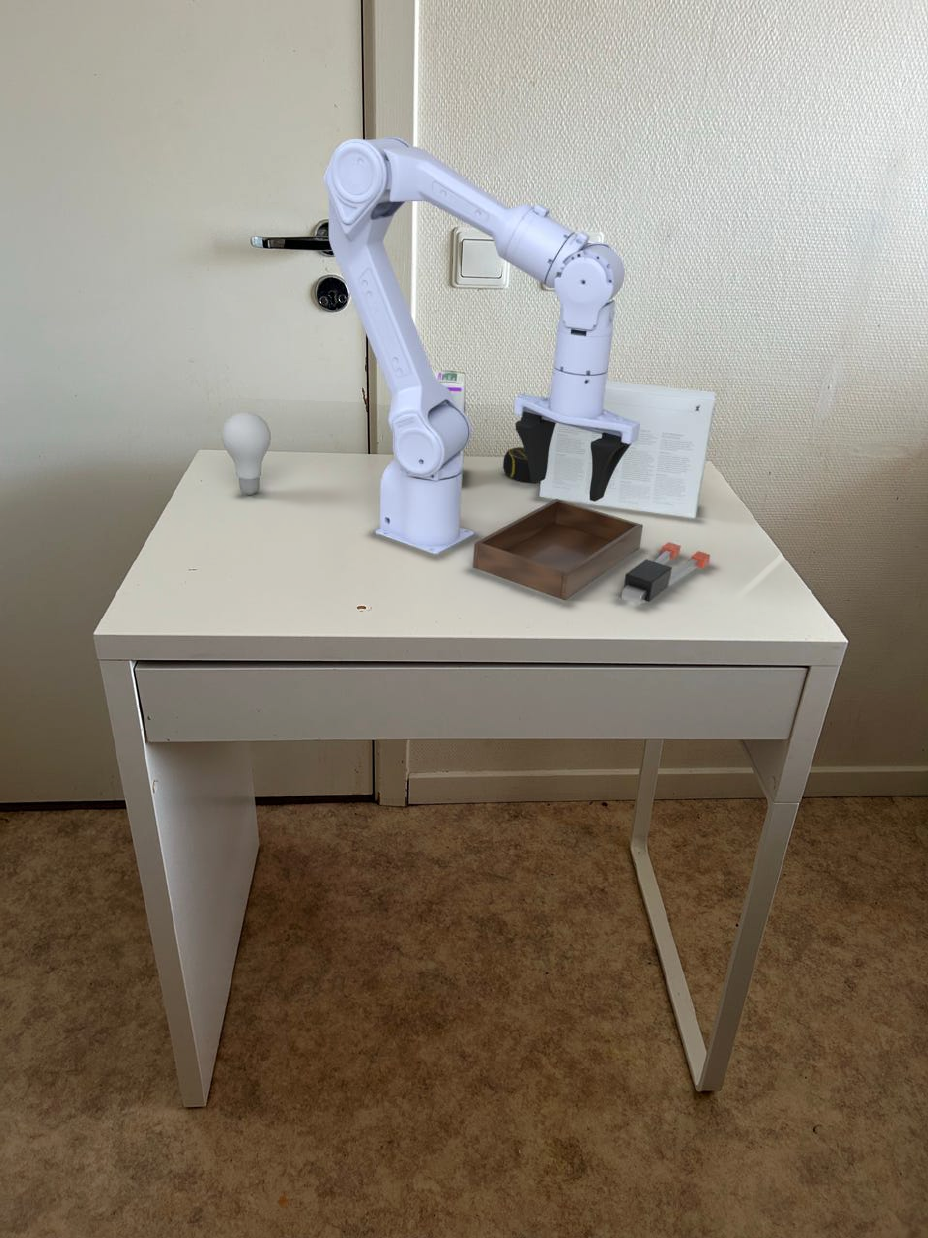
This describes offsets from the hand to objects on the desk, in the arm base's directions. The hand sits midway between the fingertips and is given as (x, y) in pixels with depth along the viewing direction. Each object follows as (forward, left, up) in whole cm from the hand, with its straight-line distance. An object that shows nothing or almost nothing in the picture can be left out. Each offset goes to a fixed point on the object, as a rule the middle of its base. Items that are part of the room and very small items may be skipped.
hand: (566, 489), depth 107 cm
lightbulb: (-42, -9, -10) cm, 44 cm away
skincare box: (-4, +22, -10) cm, 24 cm away
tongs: (+11, +4, -9) cm, 15 cm away
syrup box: (-27, +13, -10) cm, 31 cm away
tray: (0, +1, -9) cm, 9 cm away
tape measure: (-18, +22, -10) cm, 30 cm away
